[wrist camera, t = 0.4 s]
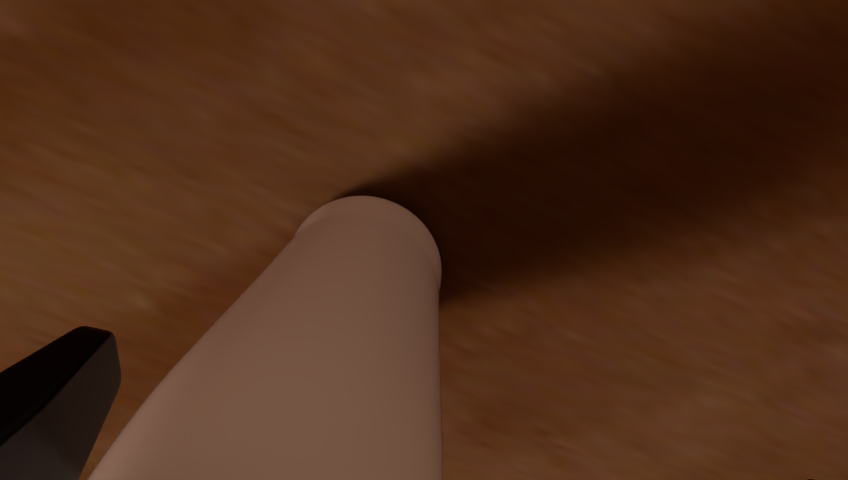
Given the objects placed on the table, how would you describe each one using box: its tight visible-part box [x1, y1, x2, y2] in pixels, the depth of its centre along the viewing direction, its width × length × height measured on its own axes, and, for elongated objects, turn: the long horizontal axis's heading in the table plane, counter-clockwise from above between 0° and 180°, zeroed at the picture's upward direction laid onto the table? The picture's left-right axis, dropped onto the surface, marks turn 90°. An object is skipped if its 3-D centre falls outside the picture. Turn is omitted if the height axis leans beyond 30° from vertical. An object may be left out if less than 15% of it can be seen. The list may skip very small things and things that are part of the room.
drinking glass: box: [87, 195, 443, 480], centre depth 18 cm, size 7×7×15 cm
